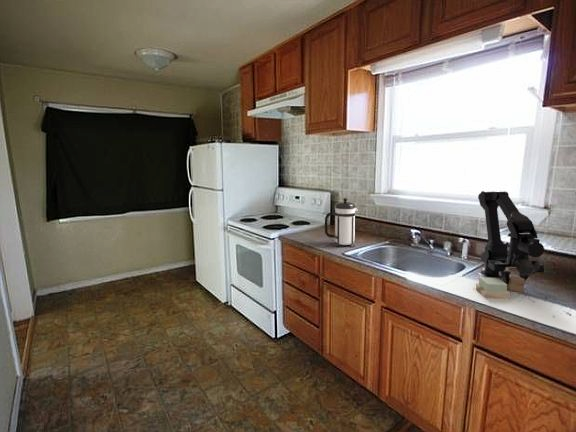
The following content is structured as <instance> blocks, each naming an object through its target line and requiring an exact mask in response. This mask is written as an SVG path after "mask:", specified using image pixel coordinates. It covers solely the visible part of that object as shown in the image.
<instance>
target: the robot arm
mask: <svg viewBox="0 0 576 432" xmlns="http://www.w3.org/2000/svg"><path fill="white" fill-rule="evenodd" d="M477 198H478V202H479V205H480V206H481V208H482V210H484V216H485V223H486V224H485V225H486V233H487V243H486V244H485V246H484V251H483V252H482V253H481V254H480V261H482V262H483V263H484V264H485V265H484V270H481V271H480V272H481V273H482V274H483V275H484V276H485V277H487V278H502V279H503V280H502V281H503V282H504V283H506V284H507V286H508V284H509V275H511V273H512V272H511V271H510V269H513V270H514V269H516V270H517V272H519V274H518V276H520V277H522V278H523V279H525V282H526V281H527V280H528V278H530V276H532V275H536V273H545V272H546V267H545V265H544V264H542V263H541V262H540V260H530V258H529V257H532V258H539V257H541V256H542V255H543V254H544V253H545V247H544V244H542V243H540V241H541V240H540V239H539V238H538V232H537V230H536V228H535V225H534V224H533V221H532V220H531V219H530V218H529V217H528V216H527V215H526V214H523V213H522V212H520V210H519V209H518V208H517V206H516V205H515V203H514V202H513V200H512V199H511V198H510V196H509V192H508V191H506V190H482V191H481V192H480V193H479V194H478V196H477ZM498 208H500V210H501V212H502V213H503V215H504V217H505V218H506V226H507V228H508V229H507V230H508V231H509V233H508V234H507V237H510V238H509V247H508V244H507V243H504V242H503V241H502V236H501V230H500V229H501V228H500V221H499V220H500V219H499V212H498Z"/></svg>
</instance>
